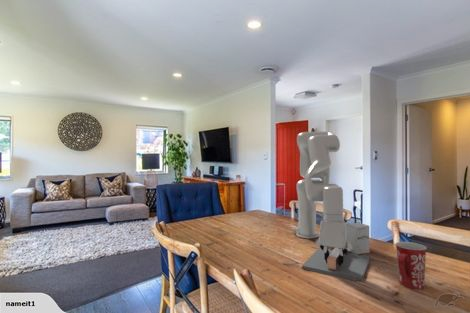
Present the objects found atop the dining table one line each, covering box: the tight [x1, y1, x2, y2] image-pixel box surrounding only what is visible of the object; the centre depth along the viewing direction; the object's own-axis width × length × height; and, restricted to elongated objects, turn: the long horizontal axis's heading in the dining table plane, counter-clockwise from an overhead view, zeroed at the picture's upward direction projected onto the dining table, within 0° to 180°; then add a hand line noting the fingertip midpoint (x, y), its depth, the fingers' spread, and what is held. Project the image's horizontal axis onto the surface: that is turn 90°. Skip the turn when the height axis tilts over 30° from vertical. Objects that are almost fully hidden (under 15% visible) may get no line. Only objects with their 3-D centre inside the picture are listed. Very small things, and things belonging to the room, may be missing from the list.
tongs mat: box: [301, 247, 371, 282], centre depth 112 cm, size 22×24×1 cm
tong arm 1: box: [327, 248, 338, 269], centre depth 111 cm, size 2×18×4 cm, turn 148°
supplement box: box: [346, 222, 370, 255], centre depth 126 cm, size 7×7×13 cm
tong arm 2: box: [332, 248, 345, 270], centre depth 110 cm, size 2×18×4 cm, turn 147°
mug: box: [395, 241, 427, 290], centre depth 93 cm, size 13×9×14 cm
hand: (333, 262), depth 107 cm, fingers open, 4 cm apart
